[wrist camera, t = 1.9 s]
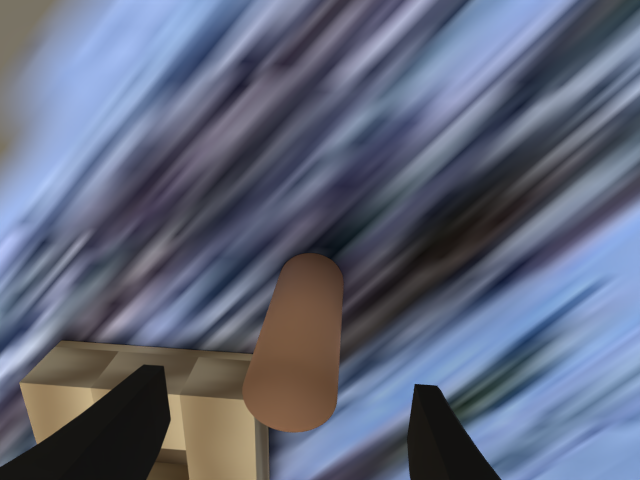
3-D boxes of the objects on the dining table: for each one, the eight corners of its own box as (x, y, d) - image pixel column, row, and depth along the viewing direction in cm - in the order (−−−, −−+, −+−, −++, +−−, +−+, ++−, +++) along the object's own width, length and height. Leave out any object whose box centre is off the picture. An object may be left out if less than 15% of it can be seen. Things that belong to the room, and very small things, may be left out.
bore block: (266, 355, 22) (253, 400, 19) (269, 502, 26) (259, 558, 23) (61, 340, 22) (19, 382, 19) (95, 487, 26) (64, 539, 23)
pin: (345, 255, 19) (339, 360, 13) (342, 311, 20) (335, 436, 14) (278, 251, 19) (240, 353, 13) (279, 308, 20) (244, 428, 14)
